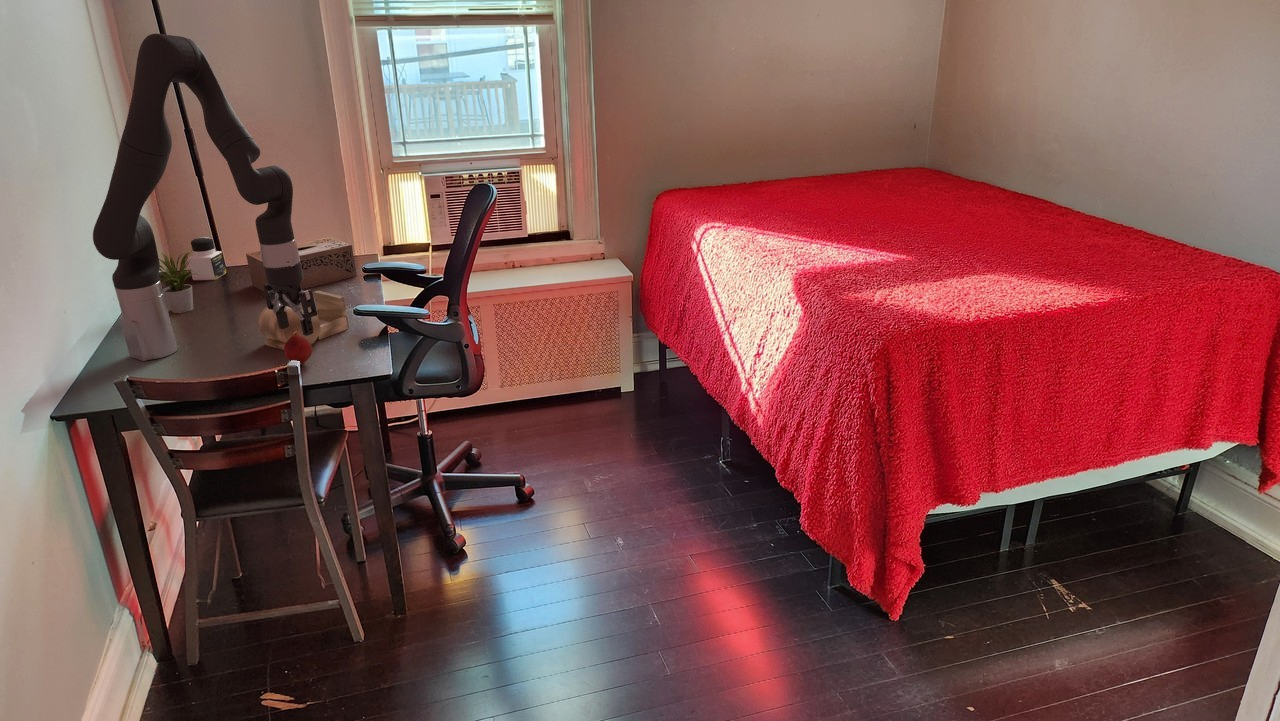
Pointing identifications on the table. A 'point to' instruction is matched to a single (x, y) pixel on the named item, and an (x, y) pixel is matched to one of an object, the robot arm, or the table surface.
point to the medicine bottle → (206, 260)
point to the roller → (273, 332)
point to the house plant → (177, 284)
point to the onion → (298, 348)
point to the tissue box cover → (312, 263)
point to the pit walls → (331, 313)
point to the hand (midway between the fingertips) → (296, 331)
